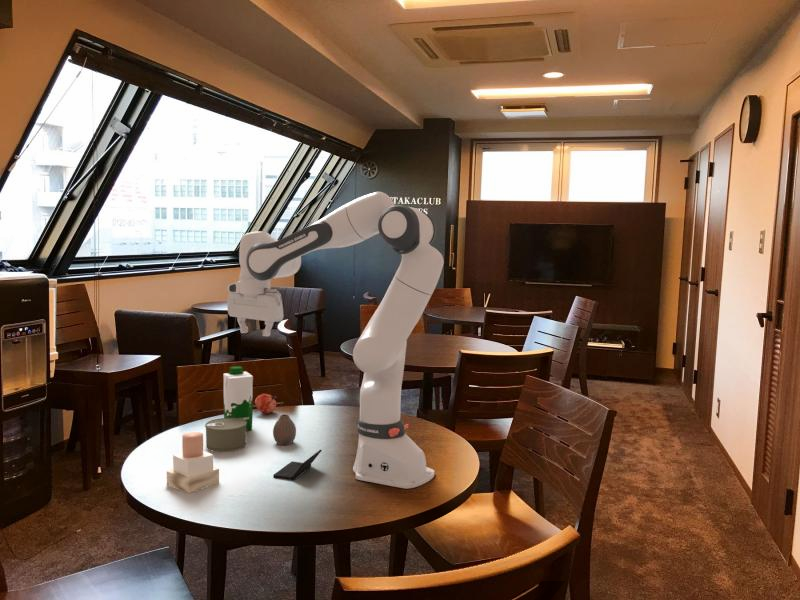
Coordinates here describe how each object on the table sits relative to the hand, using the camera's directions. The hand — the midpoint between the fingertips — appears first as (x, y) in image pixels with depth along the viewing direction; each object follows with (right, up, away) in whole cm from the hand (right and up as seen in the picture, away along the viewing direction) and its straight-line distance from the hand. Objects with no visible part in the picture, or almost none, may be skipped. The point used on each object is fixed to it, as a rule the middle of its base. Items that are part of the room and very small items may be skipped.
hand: (255, 334), depth 185 cm
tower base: (-10, -37, -24) cm, 46 cm away
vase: (+7, -34, +8) cm, 35 cm away
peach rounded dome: (-10, -29, -25) cm, 40 cm away
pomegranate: (-6, -30, +39) cm, 50 cm away
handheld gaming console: (+15, -37, -16) cm, 43 cm away
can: (-10, -34, +5) cm, 36 cm away
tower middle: (-10, -33, -25) cm, 43 cm away
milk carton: (-10, -32, +21) cm, 40 cm away
